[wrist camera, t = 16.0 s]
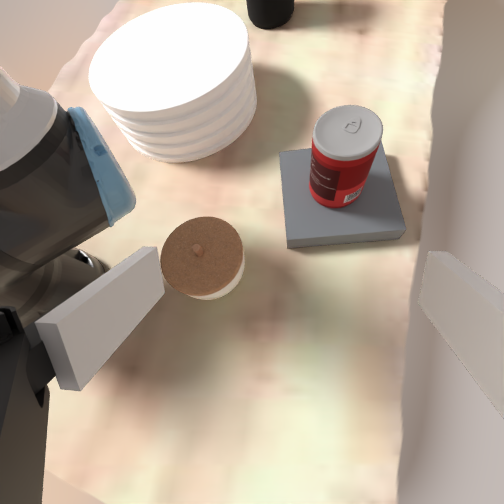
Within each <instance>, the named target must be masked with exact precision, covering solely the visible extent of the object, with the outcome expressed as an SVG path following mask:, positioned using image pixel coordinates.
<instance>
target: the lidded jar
mask: <svg viewBox="0 0 504 504" xmlns="http://www.w3.org/2000/svg"><path fill="white" fill-rule="evenodd" d="M160 263H161V269H162V273H163V275H164V277H165V279H166V280H167V282H168V283H169V284H170V285H171V286H172V287H173V288H175V289H176V290H178V291H179V292H182V293H184V294H186V295H188V296H190V297H193V298H196V299H202V300H211V299H216V298H220V297H222V296H224V295H226V294H228V293H229V292H230V291H232V290H233V289H234V288H235V287H236V286H237V284H238V283H239V281H240V280H241V277H242V275H243V272H244V267H245V255H244V250H243V246H242V242H241V239H240V237H239V235H238V233H237V232H236V230H235V229H234V228H233V227H232V226H231V225H230V224H229V223H227V222H226V221H224V220H222V219H219V218H215V217H198V218H194V219H191V220H189V221H186V222H185V223H183V224H181V225H180V226H179V227H177V228H176V229H175V230H174V231H173V232H172V233H171V234H170V235H169V237H168V238H167V240H166V242H165V243H164V246H163V248H162V252H161V259H160Z"/></svg>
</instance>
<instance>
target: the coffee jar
mask: <svg viewBox="0 0 504 504" xmlns="http://www.w3.org/2000/svg"><path fill="white" fill-rule="evenodd" d="M246 1H247V9H248V15H249V18H250V20H251V21H252V22H253V24H254V25H255V26H256V27H259V28H263V29H271V28H276V27H279V26H281V25H283V24H285V23H286V22H287V21H288V20H289V19H290V17H291V15H292V13H293V11H294V0H246Z"/></svg>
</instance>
